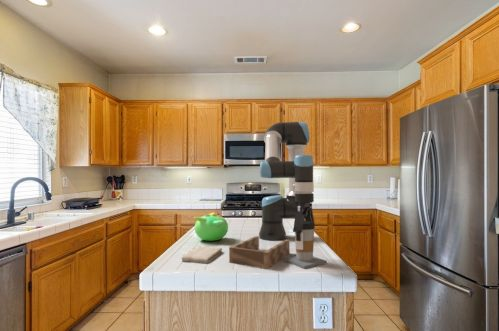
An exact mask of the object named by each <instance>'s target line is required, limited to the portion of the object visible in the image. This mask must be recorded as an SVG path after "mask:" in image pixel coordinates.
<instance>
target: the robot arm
mask: <svg viewBox="0 0 499 331" xmlns="http://www.w3.org/2000/svg"><path fill="white" fill-rule="evenodd" d="M309 130H310V129H309V126H308V124H307V123H306V122H304V121H286V122H285V121H284V122H282V121H281V122H277V123H273V124H272V125H270V126H269V127H268V128H267V129H266V130H265V132H264V135H263V141H264V143H265V146H264V147H265V148H264V149H265V152H264V161H263V160H262V161H260V165H259V173H260V174H259V175H260V177H261V178H263V179H288V192H287V193H286V196H285V197H284V196H283V195H282V194H281V195H280V194H278V195H276V194H275V195H270V196H265V197H263V198H262V200H261V227H260V229H259V232H258V236H259V239H261V240H266V241H281V240H286V238H287V232H286V230H285V227H284V222H283V220H287V219H288V220H289V219H290V220H293V219H294V222H293V229H292V232H294V233H295V232H296V244H295V250H296V249H300V250H303V232H302V229H303V224H304V221H312V222H313V223H314V227H316V223H315V216H314V212H313V204H312V203H314V201H315V200H314V197H315V196H314V193H313V192H314V157H313V155H311V154H305V149H306V147H307V146H308V143H310V140H311V139H310V131H309ZM281 144H285V147H286V148H287V149H288V160H282V159H281V157H282V156H281Z"/></svg>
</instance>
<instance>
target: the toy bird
mask: <svg viewBox="0 0 499 331" xmlns="http://www.w3.org/2000/svg"><path fill="white" fill-rule="evenodd" d="M193 219H194V220H195V221H196V222H195V224H194V232H195V234H196V236H197V237H198V238H199V239H201V240H202V241H203V240H204V241H207V242H214V241H215V242H216V241H219V240H220V239H223V238H224V237H225V236H226V235H227V233H228V231H229V224H228V222H227V220H226V219H225V218H224V217H223V216H221V215H219V214H216V212H211V213H209V214H205V215H202V216H201V217H200V216H194V217H193Z"/></svg>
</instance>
